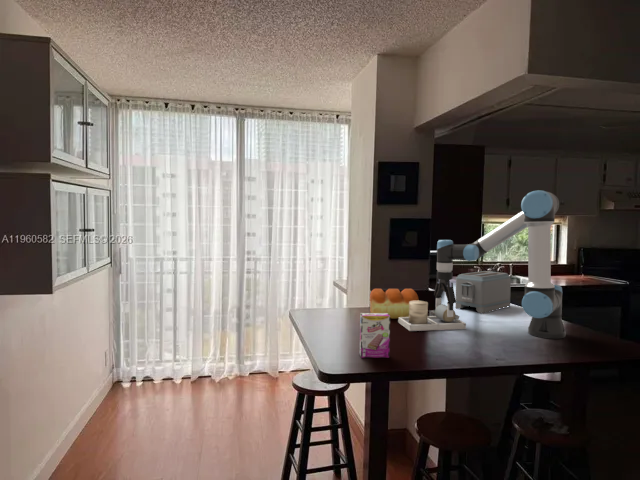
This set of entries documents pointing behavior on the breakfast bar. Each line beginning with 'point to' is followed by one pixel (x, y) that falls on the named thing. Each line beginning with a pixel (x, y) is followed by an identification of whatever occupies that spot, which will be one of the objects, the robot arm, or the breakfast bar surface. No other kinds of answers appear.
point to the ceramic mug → (444, 314)
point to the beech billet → (418, 312)
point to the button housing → (432, 313)
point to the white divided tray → (432, 324)
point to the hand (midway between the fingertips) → (444, 313)
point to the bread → (392, 301)
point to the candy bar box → (374, 335)
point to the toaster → (483, 290)
